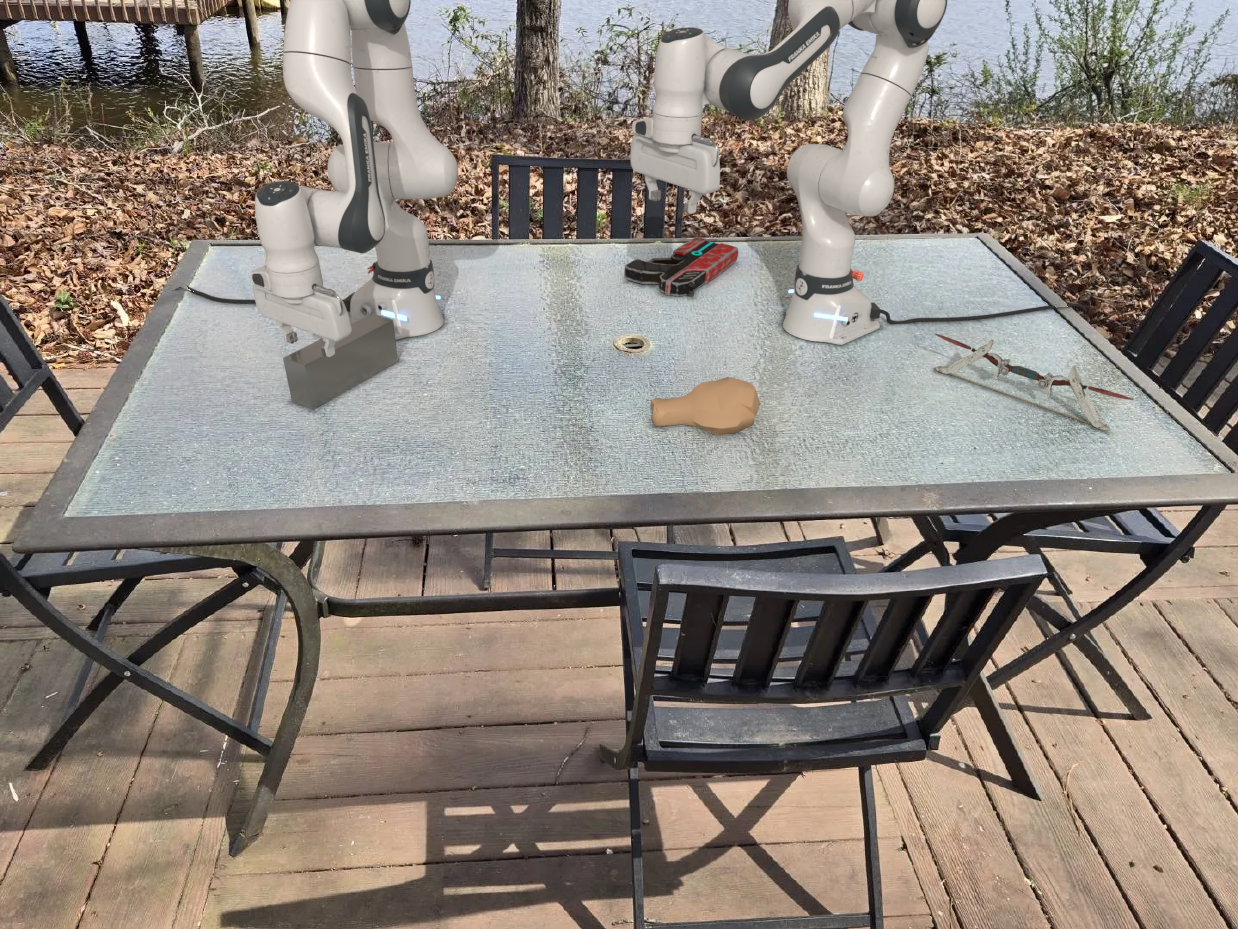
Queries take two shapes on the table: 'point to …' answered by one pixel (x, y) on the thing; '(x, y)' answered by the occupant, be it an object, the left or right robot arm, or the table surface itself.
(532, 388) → the table surface
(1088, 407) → the bow
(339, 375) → the bar
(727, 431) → the squash
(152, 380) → the table surface
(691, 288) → the gun
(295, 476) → the table surface
